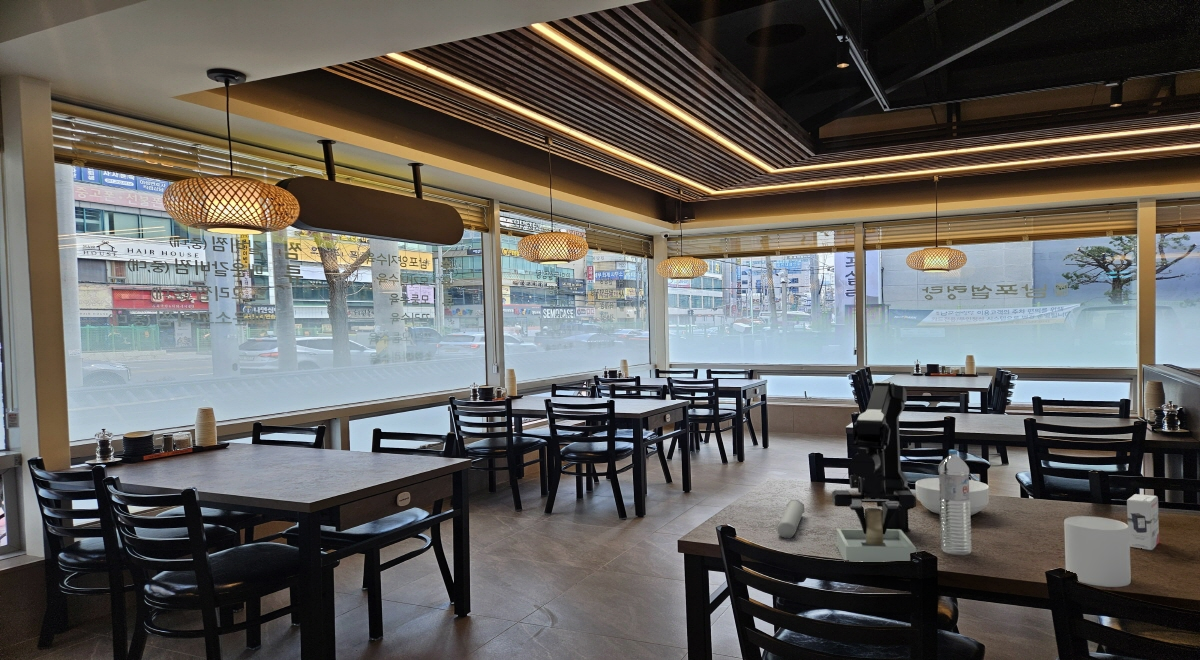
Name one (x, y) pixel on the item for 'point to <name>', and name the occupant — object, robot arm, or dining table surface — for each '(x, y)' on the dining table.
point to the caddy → (874, 546)
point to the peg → (874, 526)
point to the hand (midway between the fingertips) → (874, 533)
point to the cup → (1098, 550)
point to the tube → (790, 519)
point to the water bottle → (954, 505)
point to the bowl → (931, 493)
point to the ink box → (1143, 521)
